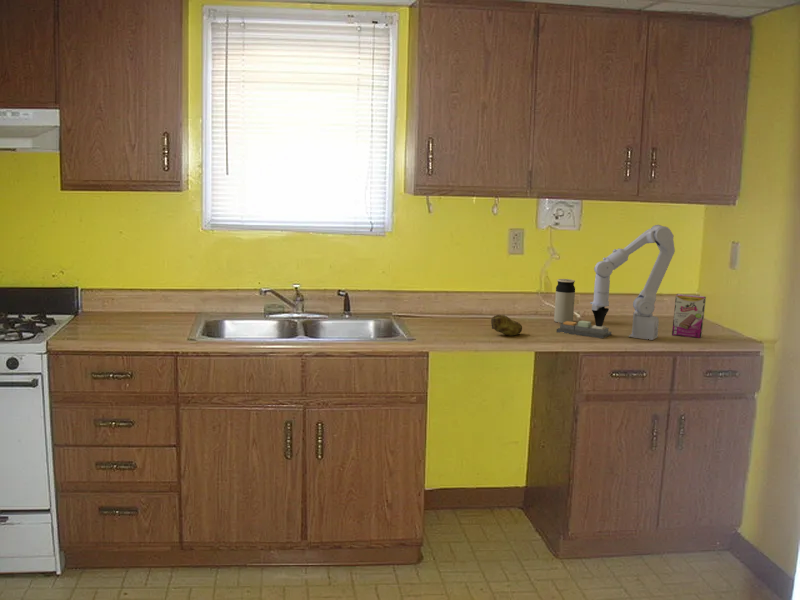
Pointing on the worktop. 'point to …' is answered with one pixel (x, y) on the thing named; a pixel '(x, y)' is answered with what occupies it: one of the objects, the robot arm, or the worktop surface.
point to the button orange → (569, 323)
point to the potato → (505, 325)
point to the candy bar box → (688, 315)
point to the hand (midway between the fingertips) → (599, 326)
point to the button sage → (584, 323)
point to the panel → (584, 331)
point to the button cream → (598, 327)
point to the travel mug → (564, 300)
